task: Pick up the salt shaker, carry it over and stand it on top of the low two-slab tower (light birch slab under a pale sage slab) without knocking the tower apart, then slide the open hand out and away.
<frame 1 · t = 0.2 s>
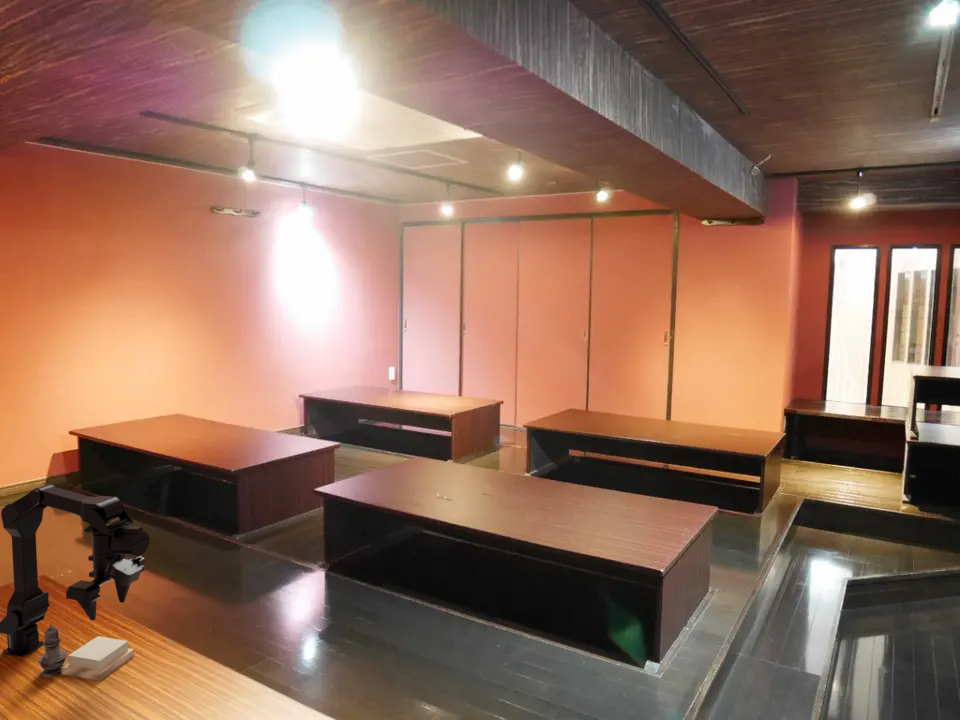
hand: (107, 610, 157), 14 cm above the table, tool pointing down, fingers open, 9 cm apart
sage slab: (99, 657, 159), point 2 cm above the table, touching birch slab
birch slab: (99, 667, 159), on the table, touching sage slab
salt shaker: (53, 671, 156), on the table
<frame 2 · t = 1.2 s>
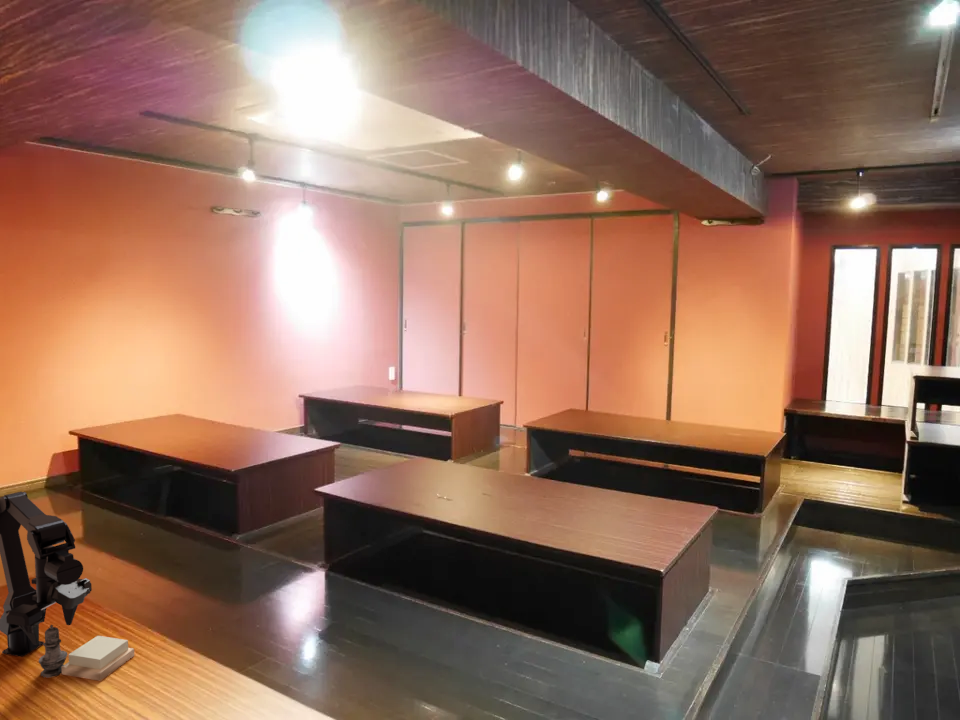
hand: (52, 634, 155), 9 cm above the table, tool pointing down, fingers open, 9 cm apart
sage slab: (99, 656, 159), point 2 cm above the table
birch slab: (99, 666, 159), on the table
everything else where it was.
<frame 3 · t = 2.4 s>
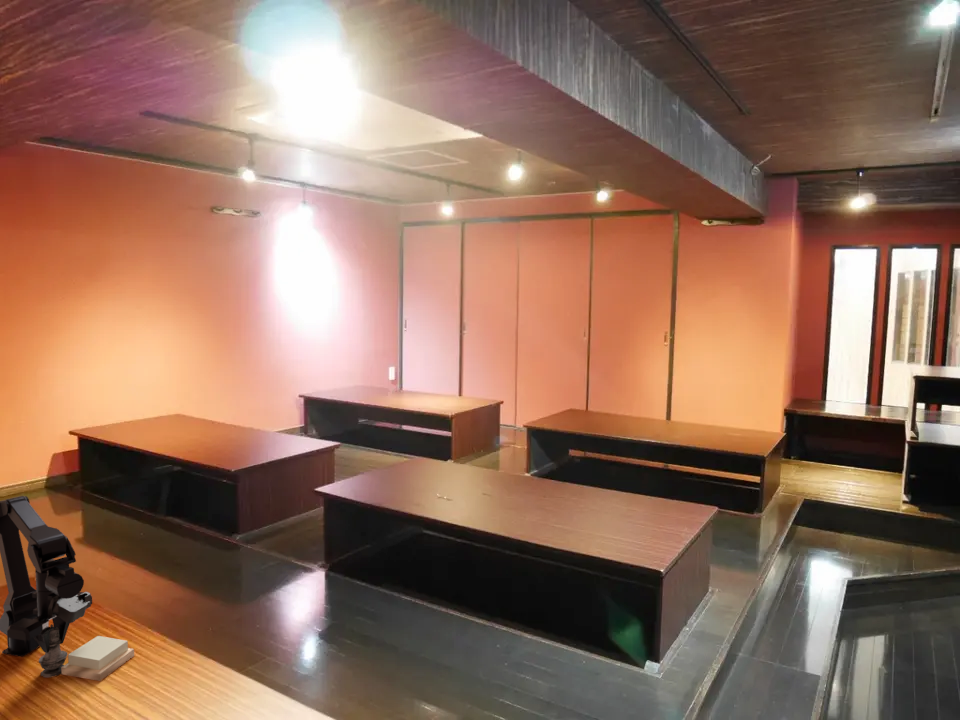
hand: (53, 647, 155), 6 cm above the table, tool pointing down, fingers closed on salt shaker, 4 cm apart
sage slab: (98, 657, 159), point 2 cm above the table, touching birch slab
birch slab: (99, 667, 159), on the table, touching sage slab
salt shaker: (53, 671, 156), on the table, touching gripper
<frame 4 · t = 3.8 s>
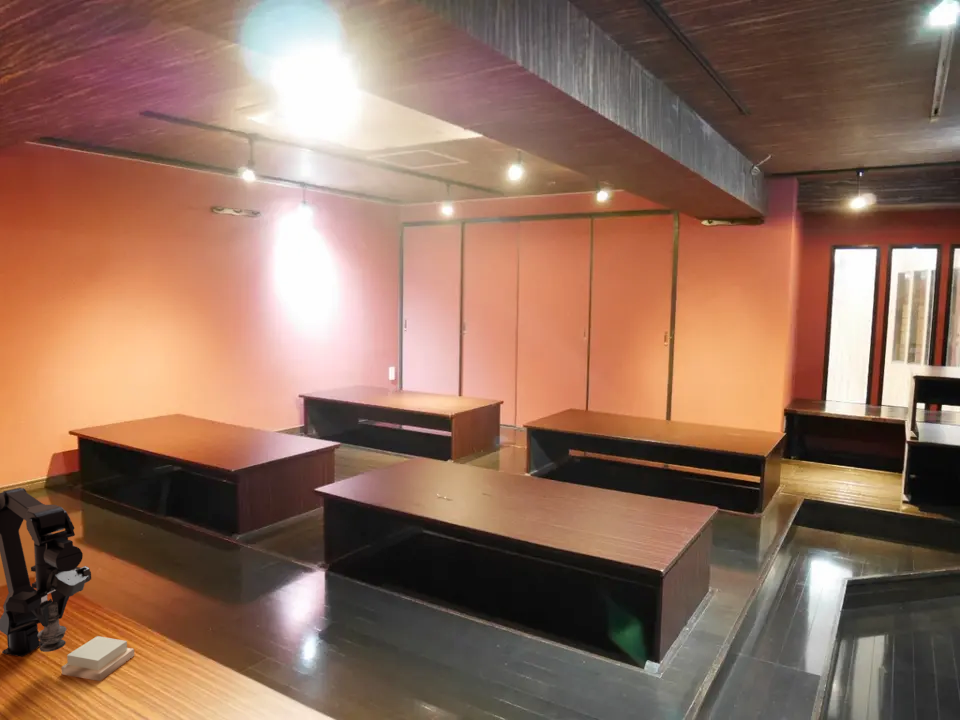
hand: (52, 622, 154), 13 cm above the table, tool pointing down, fingers closed on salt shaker, 4 cm apart
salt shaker: (52, 646, 155), point 6 cm above the table, touching gripper
everything else where it was.
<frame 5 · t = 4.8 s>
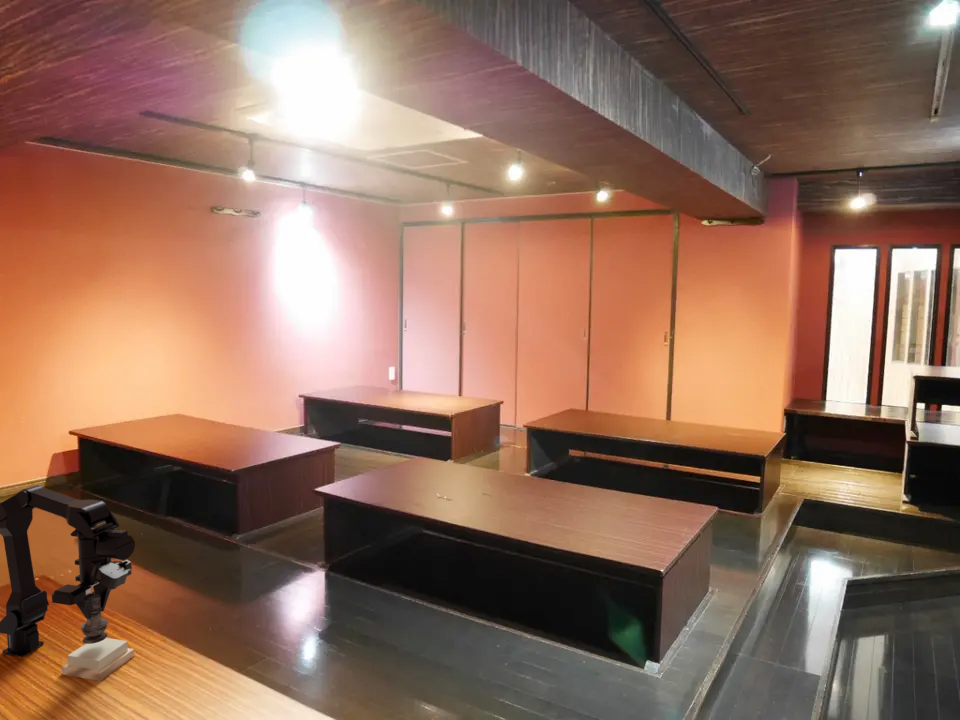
hand: (95, 614, 157), 13 cm above the table, tool pointing down, fingers closed on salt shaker, 4 cm apart
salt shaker: (95, 638, 158), point 7 cm above the table, touching gripper
everything else where it was.
when the fingers open (12 cm above the table, at t = 5.8 s): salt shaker drops 2 cm, resting on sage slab.
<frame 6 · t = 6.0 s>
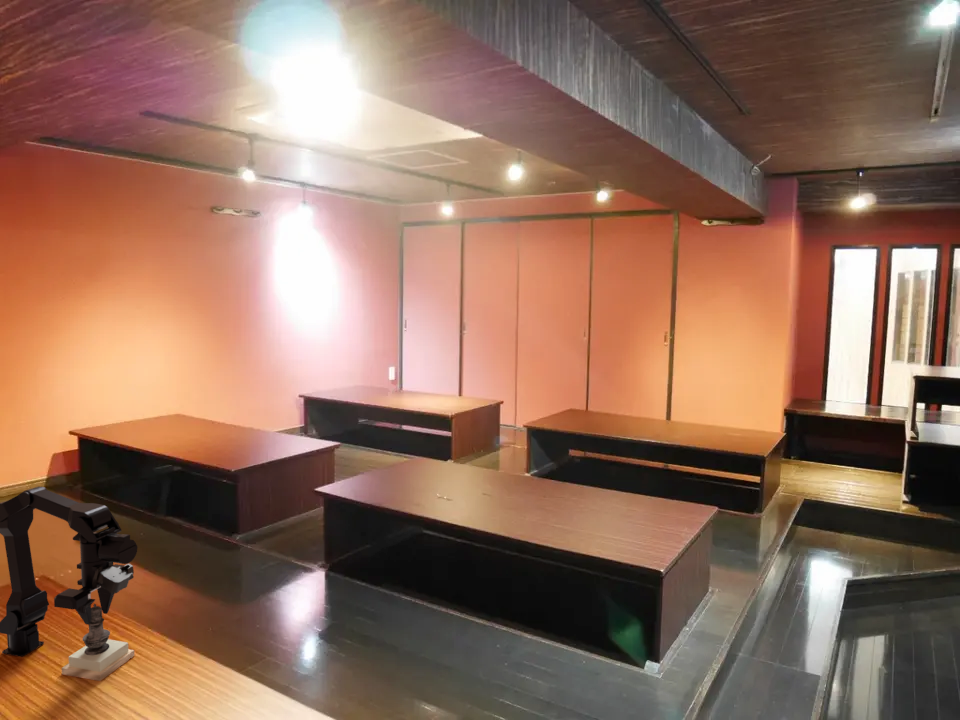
hand: (96, 618, 157), 12 cm above the table, tool pointing down, fingers open, 5 cm apart
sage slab: (99, 659, 158), point 1 cm above the table, touching birch slab, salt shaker
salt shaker: (97, 649, 158), point 4 cm above the table, touching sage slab
everything else where it was.
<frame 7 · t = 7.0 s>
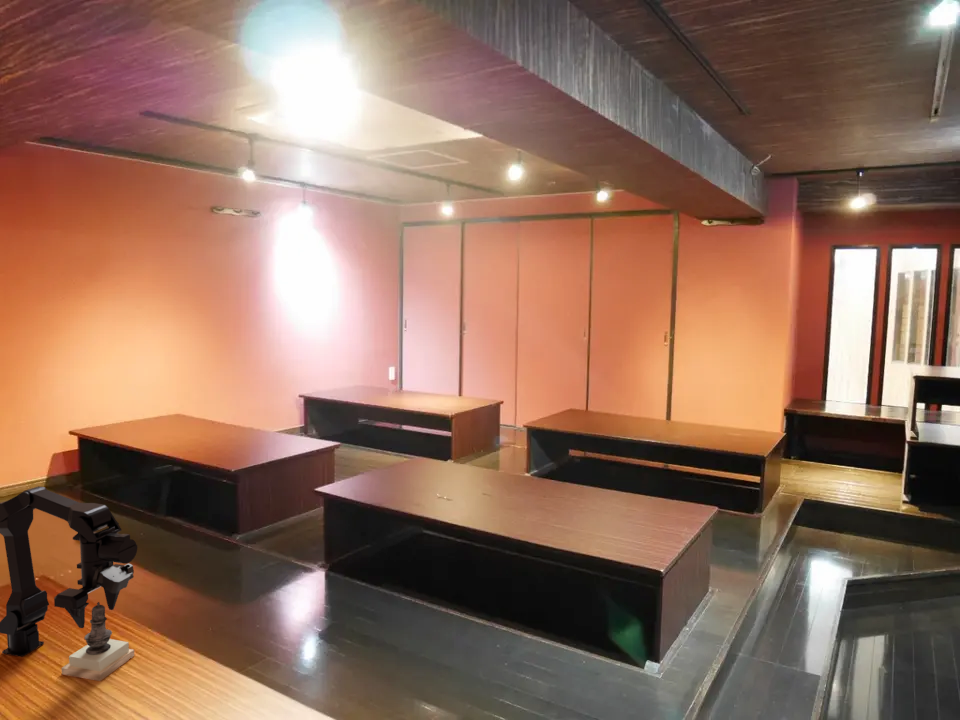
hand: (96, 618, 157), 12 cm above the table, tool pointing down, fingers open, 9 cm apart
nothing on the table moved.
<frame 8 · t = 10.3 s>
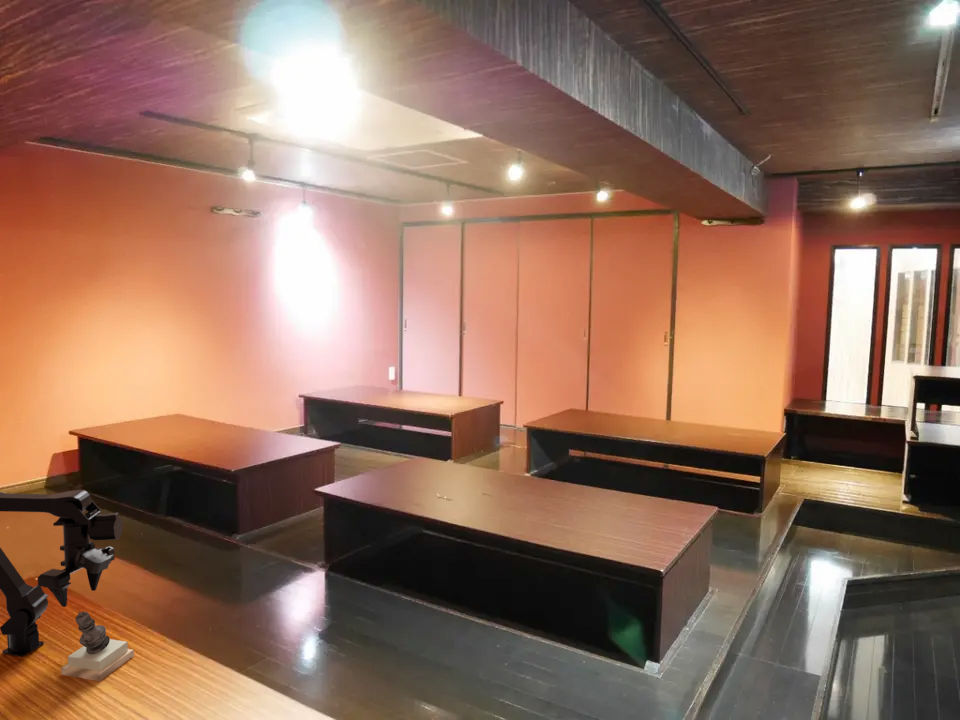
hand: (79, 598, 165), 13 cm above the table, tool pointing down, fingers open, 9 cm apart
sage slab: (98, 658, 158), point 2 cm above the table, touching birch slab
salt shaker: (98, 645, 158), point 5 cm above the table
everything else where it was.
at the end: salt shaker 0.7 cm off-centre on the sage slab, point 2.8 cm above the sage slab's base; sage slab 0.2 cm off-centre on the birch slab, point 2.5 cm above the birch slab's base; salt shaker tilted 11° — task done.
